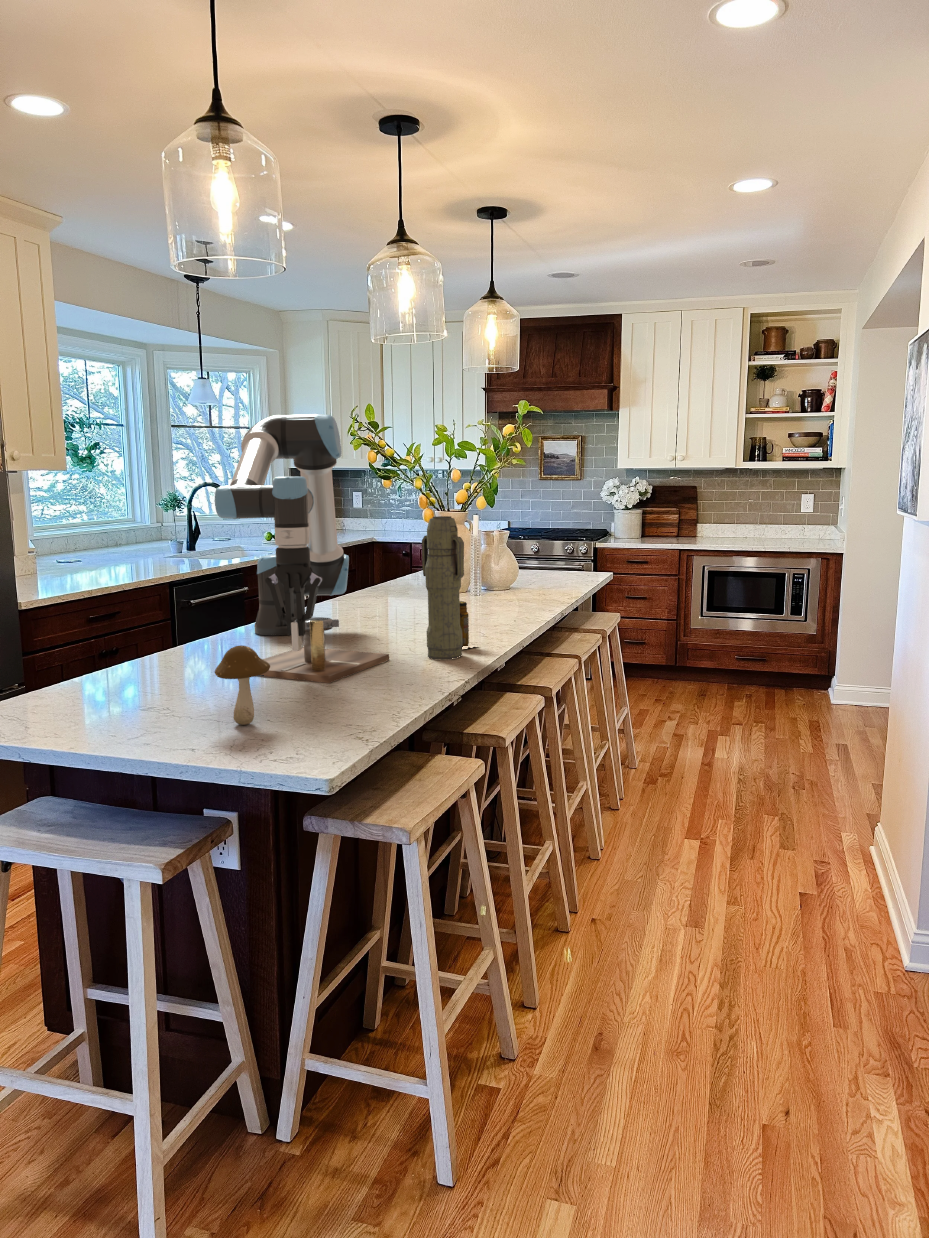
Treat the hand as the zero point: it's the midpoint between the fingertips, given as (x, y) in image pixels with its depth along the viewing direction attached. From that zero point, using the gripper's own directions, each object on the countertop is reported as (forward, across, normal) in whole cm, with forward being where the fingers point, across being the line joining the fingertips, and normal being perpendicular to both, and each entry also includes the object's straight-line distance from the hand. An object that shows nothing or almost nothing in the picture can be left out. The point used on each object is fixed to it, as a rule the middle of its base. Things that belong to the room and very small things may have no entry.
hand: (297, 649), depth 201 cm
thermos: (+7, +30, +25) cm, 40 cm away
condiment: (+7, +33, +37) cm, 50 cm away
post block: (+7, +1, +12) cm, 14 cm away
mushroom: (+7, +1, -37) cm, 38 cm away
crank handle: (+5, +3, +8) cm, 10 cm away
